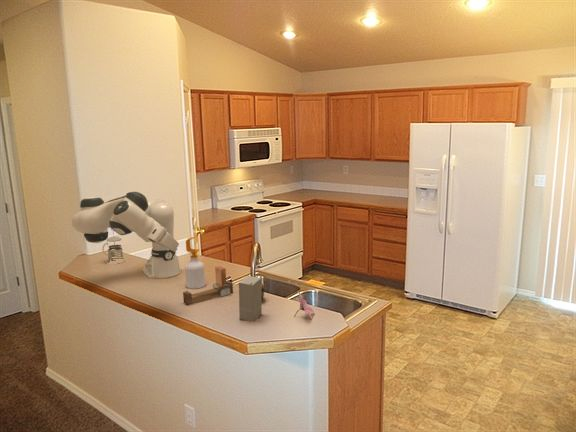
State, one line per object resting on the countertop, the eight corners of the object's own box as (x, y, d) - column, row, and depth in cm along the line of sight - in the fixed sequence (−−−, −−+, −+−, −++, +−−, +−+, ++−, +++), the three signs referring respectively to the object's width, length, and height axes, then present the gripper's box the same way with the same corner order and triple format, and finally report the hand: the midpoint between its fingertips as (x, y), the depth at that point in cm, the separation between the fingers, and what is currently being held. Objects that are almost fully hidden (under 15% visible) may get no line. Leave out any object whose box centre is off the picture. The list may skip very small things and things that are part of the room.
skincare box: (247, 312, 189) (246, 275, 186) (263, 314, 187) (262, 276, 184) (238, 320, 182) (236, 281, 179) (254, 322, 179) (253, 283, 176)
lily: (302, 328, 175) (314, 306, 174) (278, 311, 180) (290, 290, 179) (314, 326, 185) (326, 305, 184) (292, 310, 191) (303, 290, 190)
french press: (127, 262, 267) (123, 220, 262) (106, 266, 261) (101, 223, 256) (123, 259, 275) (119, 217, 270) (102, 262, 269) (98, 220, 264)
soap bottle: (201, 289, 218) (198, 238, 214) (183, 288, 220) (179, 238, 216) (208, 283, 227) (205, 234, 223) (190, 282, 229) (187, 234, 224)
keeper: (213, 293, 212) (211, 267, 210) (222, 290, 215) (221, 265, 213) (220, 296, 207) (219, 270, 205) (230, 294, 210) (228, 268, 208)
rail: (183, 302, 201) (182, 292, 200) (228, 290, 215) (227, 280, 214) (187, 305, 198) (187, 294, 197) (233, 292, 212) (232, 282, 211)
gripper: (135, 233, 192) (159, 251, 200) (155, 241, 177) (181, 260, 185) (145, 221, 194) (168, 239, 202) (165, 228, 179) (190, 248, 186)
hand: (174, 249), depth 193 cm, fingers closed
